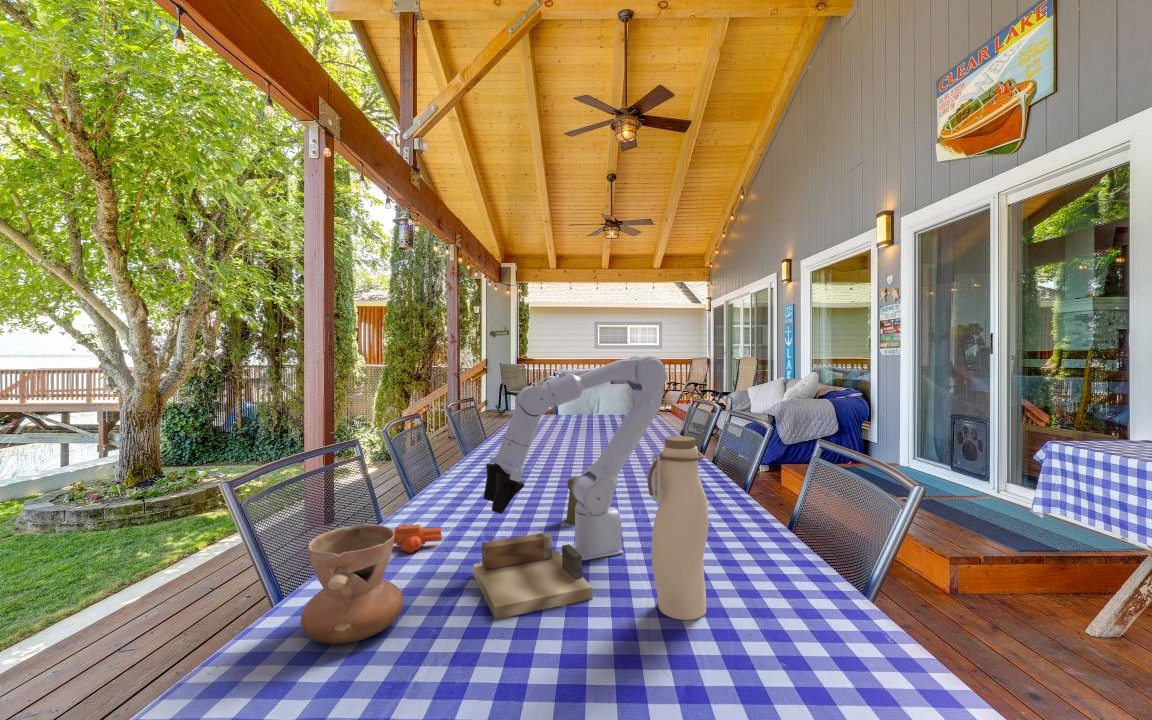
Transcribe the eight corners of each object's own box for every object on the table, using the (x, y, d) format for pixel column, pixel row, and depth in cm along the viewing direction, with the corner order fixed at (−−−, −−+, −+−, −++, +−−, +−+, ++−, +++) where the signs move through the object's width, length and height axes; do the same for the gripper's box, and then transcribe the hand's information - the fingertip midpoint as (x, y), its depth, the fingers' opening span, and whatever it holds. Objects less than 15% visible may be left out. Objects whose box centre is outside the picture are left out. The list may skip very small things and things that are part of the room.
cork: (587, 525, 124) (587, 480, 124) (563, 523, 125) (563, 479, 125) (591, 517, 130) (591, 474, 130) (569, 516, 131) (568, 474, 131)
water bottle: (671, 630, 76) (669, 446, 76) (637, 605, 84) (635, 437, 84) (722, 613, 81) (720, 440, 81) (685, 591, 89) (683, 432, 89)
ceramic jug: (390, 655, 71) (389, 555, 71) (280, 665, 69) (278, 562, 69) (413, 595, 89) (412, 515, 88) (326, 602, 86) (325, 519, 86)
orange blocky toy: (441, 517, 114) (386, 520, 112) (438, 538, 107) (379, 543, 105) (442, 535, 115) (388, 539, 114) (439, 558, 109) (381, 562, 107)
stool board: (556, 560, 103) (556, 530, 103) (592, 598, 86) (592, 564, 86) (473, 574, 97) (472, 543, 97) (495, 619, 80) (494, 582, 80)
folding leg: (549, 551, 101) (548, 532, 101) (554, 557, 98) (554, 537, 98) (482, 563, 96) (481, 542, 96) (485, 569, 93) (485, 548, 93)
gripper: (491, 429, 108) (467, 490, 107) (508, 443, 94) (481, 512, 93) (520, 439, 110) (498, 498, 109) (541, 454, 97) (515, 521, 96)
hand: (492, 505), depth 101 cm, fingers open, 7 cm apart
